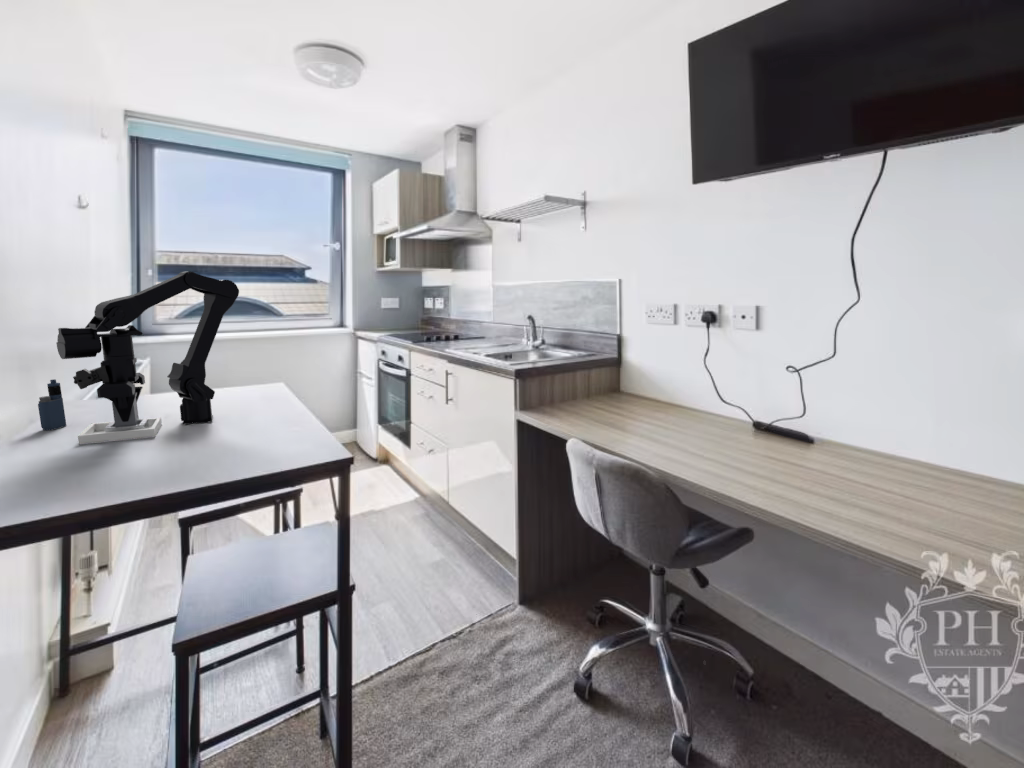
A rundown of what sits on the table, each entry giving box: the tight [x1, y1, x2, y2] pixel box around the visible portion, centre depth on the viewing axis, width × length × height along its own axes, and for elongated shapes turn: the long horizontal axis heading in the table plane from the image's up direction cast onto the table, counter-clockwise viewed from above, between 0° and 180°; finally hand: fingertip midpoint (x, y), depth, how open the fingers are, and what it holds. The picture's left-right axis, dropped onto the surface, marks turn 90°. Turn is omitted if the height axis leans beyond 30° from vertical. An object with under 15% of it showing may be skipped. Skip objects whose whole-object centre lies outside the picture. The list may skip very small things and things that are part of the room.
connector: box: [111, 398, 140, 427], centre depth 118 cm, size 4×4×7 cm
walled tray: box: [77, 417, 163, 445], centre depth 119 cm, size 14×12×2 cm
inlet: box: [105, 418, 149, 433], centre depth 119 cm, size 7×7×2 cm
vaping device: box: [37, 379, 67, 431], centre depth 122 cm, size 3×5×12 cm, turn 174°
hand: (127, 419), depth 119 cm, fingers closed on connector, 4 cm apart
